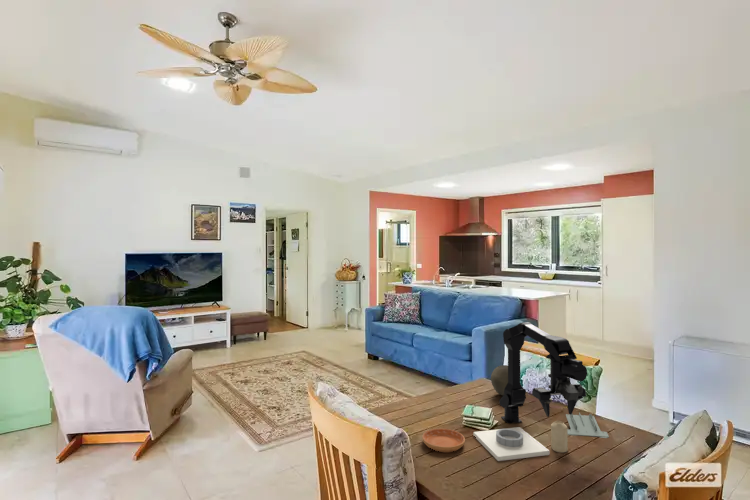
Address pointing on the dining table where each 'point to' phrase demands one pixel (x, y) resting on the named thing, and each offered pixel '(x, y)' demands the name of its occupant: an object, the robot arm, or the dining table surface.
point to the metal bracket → (584, 426)
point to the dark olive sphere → (500, 378)
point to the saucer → (443, 440)
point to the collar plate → (511, 451)
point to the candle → (559, 436)
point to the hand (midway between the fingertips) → (559, 415)
